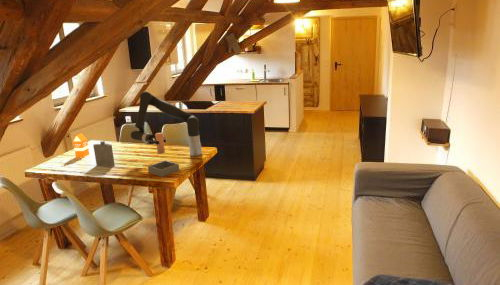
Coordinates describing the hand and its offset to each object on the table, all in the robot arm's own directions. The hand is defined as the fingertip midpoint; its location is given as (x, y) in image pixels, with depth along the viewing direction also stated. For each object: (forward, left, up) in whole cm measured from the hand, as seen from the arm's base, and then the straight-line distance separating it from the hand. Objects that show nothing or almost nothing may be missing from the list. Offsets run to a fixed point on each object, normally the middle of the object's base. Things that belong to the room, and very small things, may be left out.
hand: (161, 141), depth 274 cm
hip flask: (+22, -48, -22) cm, 57 cm away
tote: (+3, +3, -22) cm, 22 cm away
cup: (0, -3, -9) cm, 9 cm away
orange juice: (+21, -90, -22) cm, 95 cm away
